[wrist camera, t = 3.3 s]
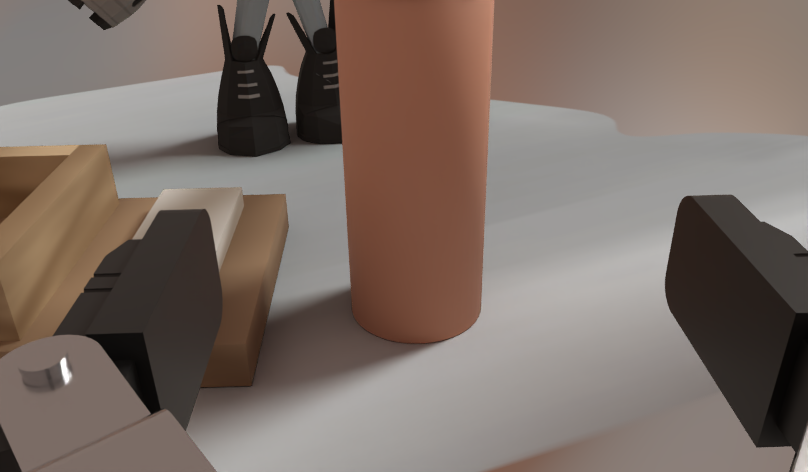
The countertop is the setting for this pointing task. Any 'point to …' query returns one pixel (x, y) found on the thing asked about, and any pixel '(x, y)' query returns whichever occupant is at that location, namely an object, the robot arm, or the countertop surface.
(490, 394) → the countertop surface
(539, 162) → the countertop surface
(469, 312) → the banded orange cylinder
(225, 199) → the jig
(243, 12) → the robot
